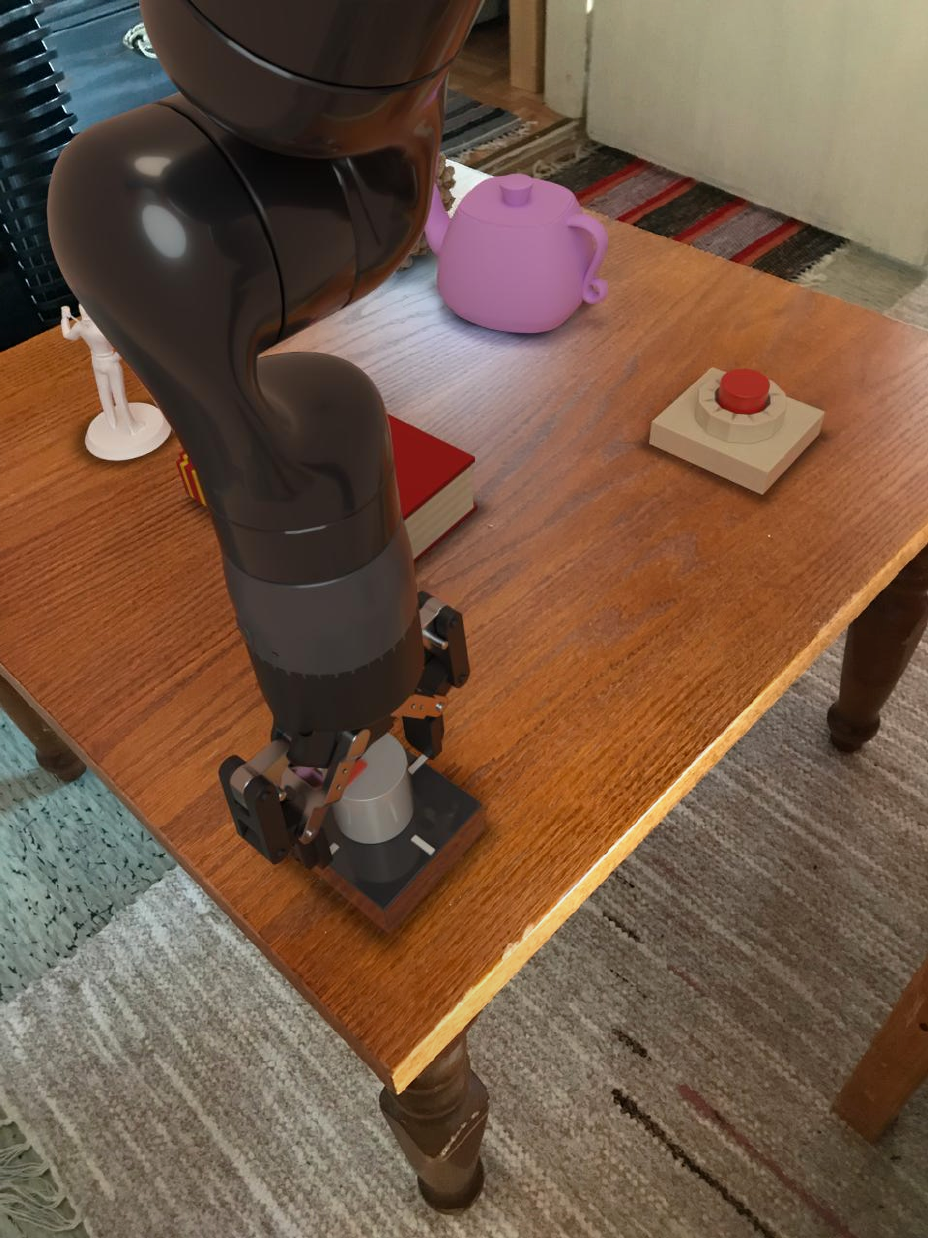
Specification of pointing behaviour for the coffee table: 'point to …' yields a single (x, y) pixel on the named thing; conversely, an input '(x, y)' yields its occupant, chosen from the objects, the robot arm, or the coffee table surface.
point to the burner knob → (376, 794)
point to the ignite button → (743, 391)
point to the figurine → (126, 423)
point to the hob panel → (404, 848)
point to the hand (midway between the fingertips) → (372, 799)
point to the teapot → (517, 254)
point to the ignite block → (736, 433)
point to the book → (410, 484)
